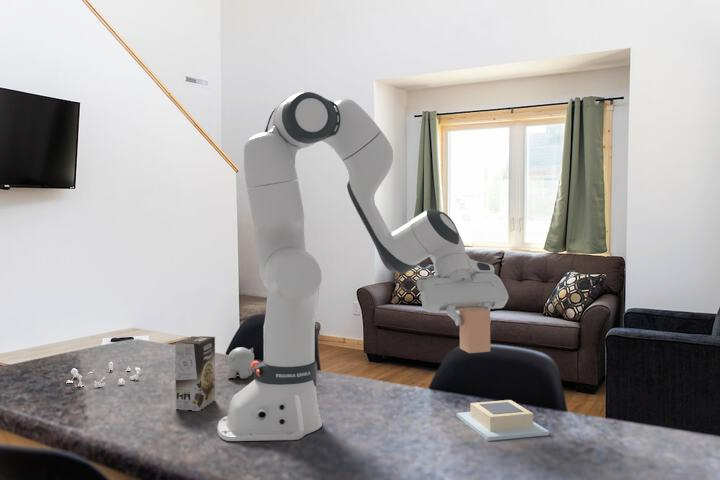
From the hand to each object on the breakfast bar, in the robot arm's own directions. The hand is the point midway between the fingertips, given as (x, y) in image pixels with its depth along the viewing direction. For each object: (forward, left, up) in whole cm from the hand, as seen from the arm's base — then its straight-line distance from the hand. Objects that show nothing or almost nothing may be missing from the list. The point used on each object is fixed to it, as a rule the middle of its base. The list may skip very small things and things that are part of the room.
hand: (474, 323), depth 137 cm
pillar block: (0, 0, -6) cm, 6 cm away
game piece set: (-85, +59, -23) cm, 106 cm away
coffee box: (-60, +28, -22) cm, 70 cm away
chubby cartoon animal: (-47, +54, -22) cm, 75 cm away
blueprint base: (+5, -3, -22) cm, 23 cm away
